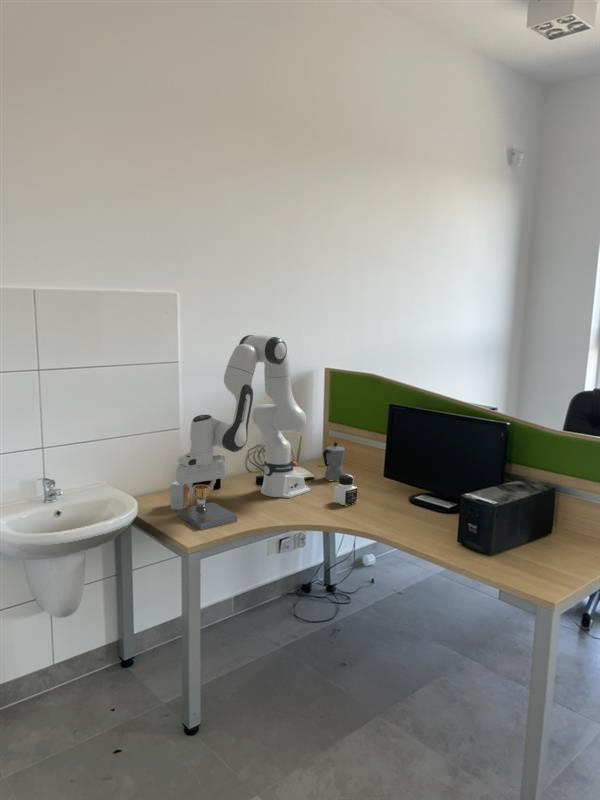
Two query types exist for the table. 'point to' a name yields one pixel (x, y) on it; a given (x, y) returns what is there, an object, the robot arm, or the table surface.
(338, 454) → the coffeepot
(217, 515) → the block
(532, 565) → the table surface
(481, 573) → the table surface
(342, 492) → the medicine bottle
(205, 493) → the ring
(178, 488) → the small box
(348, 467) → the table surface
